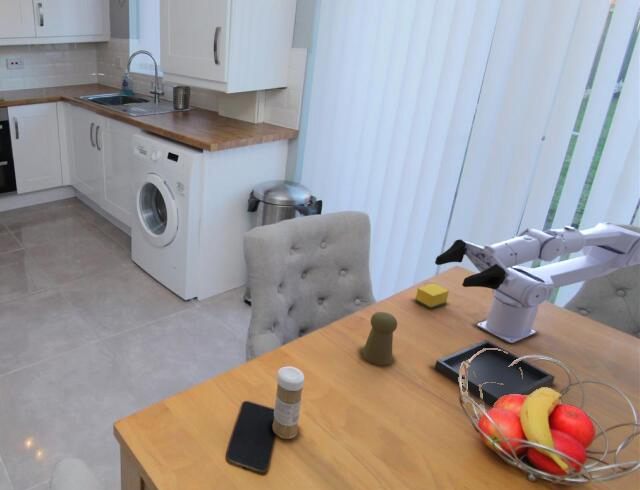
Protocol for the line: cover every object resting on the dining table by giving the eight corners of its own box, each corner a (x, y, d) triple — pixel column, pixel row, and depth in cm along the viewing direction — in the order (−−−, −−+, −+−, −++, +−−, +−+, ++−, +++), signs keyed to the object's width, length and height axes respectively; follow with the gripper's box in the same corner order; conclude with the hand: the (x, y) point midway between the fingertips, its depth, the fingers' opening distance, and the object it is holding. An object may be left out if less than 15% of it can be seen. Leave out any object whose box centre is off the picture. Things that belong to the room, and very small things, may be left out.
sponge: (430, 295, 131) (433, 283, 130) (445, 303, 128) (449, 290, 126) (415, 301, 129) (417, 288, 128) (430, 309, 126) (433, 296, 124)
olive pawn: (385, 348, 111) (393, 308, 107) (396, 366, 106) (405, 324, 102) (358, 347, 112) (365, 307, 108) (367, 365, 106) (375, 323, 102)
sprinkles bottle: (285, 418, 93) (291, 362, 88) (302, 434, 89) (310, 377, 84) (266, 426, 91) (272, 370, 86) (283, 444, 88) (290, 386, 82)
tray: (484, 347, 111) (486, 339, 110) (551, 385, 99) (555, 376, 98) (434, 368, 105) (436, 360, 104) (500, 411, 93) (503, 402, 92)
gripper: (481, 223, 111) (429, 238, 109) (540, 261, 99) (483, 279, 97) (473, 246, 115) (422, 261, 113) (528, 286, 103) (473, 303, 101)
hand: (450, 271), depth 105 cm, fingers open, 7 cm apart
